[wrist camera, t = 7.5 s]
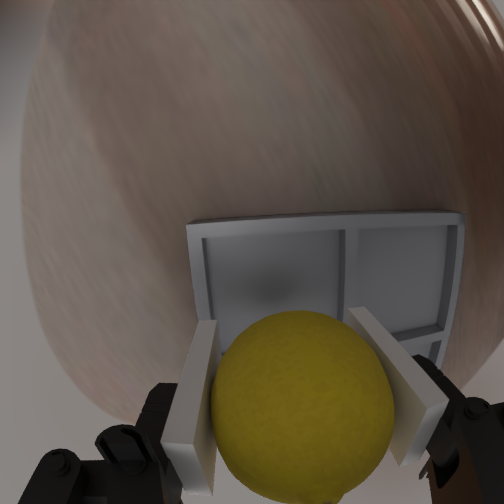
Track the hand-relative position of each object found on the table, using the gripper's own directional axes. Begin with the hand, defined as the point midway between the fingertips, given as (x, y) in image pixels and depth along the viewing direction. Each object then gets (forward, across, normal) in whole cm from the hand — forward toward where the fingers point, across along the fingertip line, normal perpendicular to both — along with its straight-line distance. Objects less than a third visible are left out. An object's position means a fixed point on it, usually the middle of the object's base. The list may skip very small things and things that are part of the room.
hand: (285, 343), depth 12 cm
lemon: (+1, 0, 0) cm, 1 cm away
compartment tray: (+7, -5, +4) cm, 9 cm away
